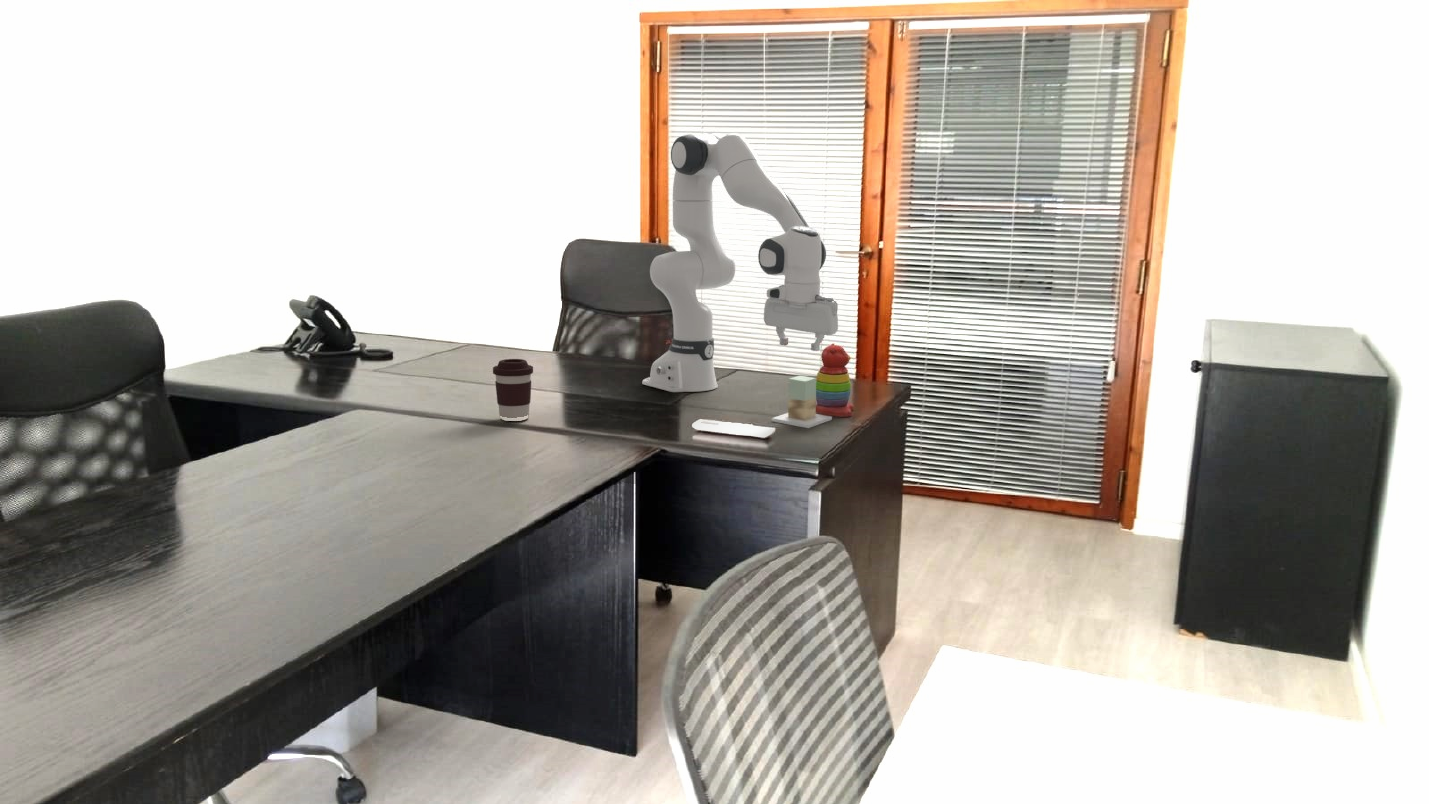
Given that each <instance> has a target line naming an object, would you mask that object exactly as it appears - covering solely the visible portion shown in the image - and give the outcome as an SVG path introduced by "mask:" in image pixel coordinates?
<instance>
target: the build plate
mask: <svg viewBox="0 0 1429 804" xmlns="http://www.w3.org/2000/svg"><path fill="white" fill-rule="evenodd" d="M832 420H833V416H827V415H822V414H819V413H816V417H813V418H810V419H807V420H800V419H794V418H789V417H788V412H786V413H783V414H780V415H777V416H774V417H772V418H771V422H773V423H774V422H775V423H778V424H785V425H789V426H795V427H801V428H806V429H810V428H813V427H816V426H819V425H821V424H824V423H827V422H829V421H832Z"/></svg>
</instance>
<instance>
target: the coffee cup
mask: <svg viewBox="0 0 1429 804" xmlns="http://www.w3.org/2000/svg"><path fill="white" fill-rule="evenodd" d="M533 373H534V366H533V365H530V364H529V363H528V361H527V360H525V359H521V358H506V359H500V360H499V361H498V363H497V365H495V366H493V367H492V374H493V375H495V392H496V402H497V405H498V412H499V413H498V414H499V417H500V416H502V417H507V418H517V417H524V416H527V415H529V416H530V403H531V396H532V395H531V394H532V380H531V379H532V378H531V375H533Z"/></svg>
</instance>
